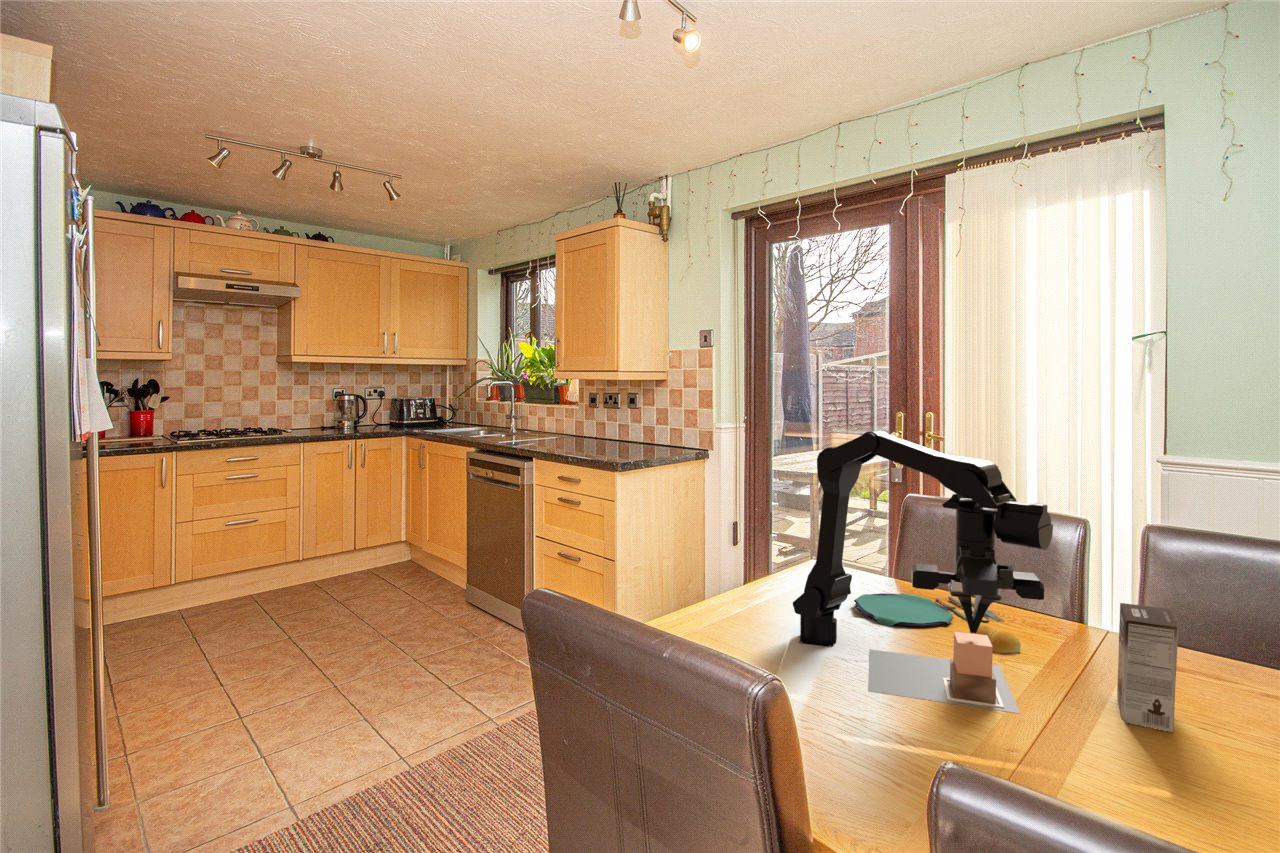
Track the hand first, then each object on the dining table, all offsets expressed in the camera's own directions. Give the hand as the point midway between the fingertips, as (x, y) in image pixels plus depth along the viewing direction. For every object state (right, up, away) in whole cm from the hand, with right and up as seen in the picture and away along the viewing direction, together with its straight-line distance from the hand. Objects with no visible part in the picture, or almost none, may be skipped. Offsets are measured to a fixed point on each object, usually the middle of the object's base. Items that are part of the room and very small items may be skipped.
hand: (972, 632), depth 105 cm
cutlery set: (+9, -9, +39) cm, 41 cm away
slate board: (-3, -10, +6) cm, 12 cm away
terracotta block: (0, -6, 0) cm, 6 cm away
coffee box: (+23, -11, -6) cm, 27 cm away
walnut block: (0, -10, +1) cm, 10 cm away
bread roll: (+15, -10, +21) cm, 27 cm away
